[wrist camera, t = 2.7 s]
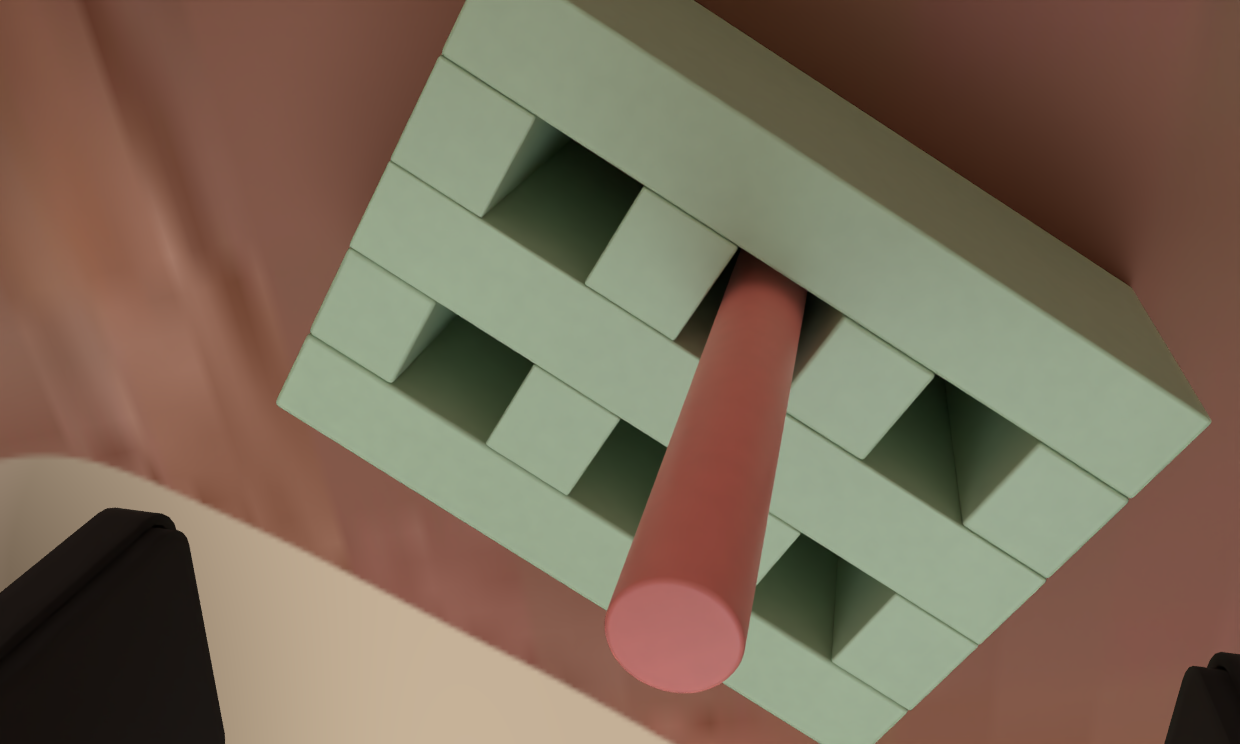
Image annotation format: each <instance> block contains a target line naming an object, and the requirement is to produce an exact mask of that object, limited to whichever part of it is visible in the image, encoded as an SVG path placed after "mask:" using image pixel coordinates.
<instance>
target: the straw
mask: <svg viewBox="0 0 1240 744" xmlns="http://www.w3.org/2000/svg"><path fill="white" fill-rule="evenodd" d="M806 297H807V290H806V289H804V288H803V287H801V286H800V285H798V284H796V283H795V282H793V281H792V280H790V279H789V278H787V277H786V276H784V275H783V274H781V273H779V272H778V271H776V270H775V269H773V268H772V267H770V266H769V265H767V264H766V263H764V262H762V261H761V260H759V259H758V258H756V257H755V256H753V255H752V254H750V253H748V252H747V251H745V250H744V249H742V248H741V250H740V253H739V256H738V258H737V261H736V264H735V266H734V269H733V272H732V274H731V277H730V280H729V283H728V285H727V288H726V291H725V293H724V296H723V299H722V301H721V304H720V307H719V310H718V312H717V315H716V318H715V320H714V323H713V326H712V328H711V331H710V334H709V337H708V339H707V342H706V345H705V347H704V350H703V353H702V355H701V358H700V361H699V363H698V366H697V369H696V372H695V374H694V377H693V380H692V382H691V385H690V388H689V390H688V393H687V396H686V399H685V401H684V404H683V407H682V409H681V412H680V415H679V417H678V420H677V423H676V426H675V428H674V431H673V434H672V436H671V439H670V442H669V444H668V447H667V450H666V453H665V455H664V458H663V461H662V463H661V466H660V469H659V471H658V474H657V477H656V480H655V482H654V485H653V488H652V490H651V493H650V496H649V498H648V501H647V504H646V507H645V509H644V512H643V515H642V517H641V520H640V523H639V525H638V528H637V531H636V534H635V536H634V539H633V542H632V544H631V547H630V550H629V552H628V555H627V558H626V561H625V563H624V566H623V569H622V571H621V574H620V577H619V579H618V582H617V585H616V587H615V590H614V593H613V596H612V598H611V601H610V604H609V606H608V609H607V612H606V616H605V633H606V638H607V642H608V645H609V647H610V650H611V652H612V653H613V655H614V657H615V658H616V660H617V661H618V662H619V664H620V665H621V666H622V667H623V668H624V669H625V670H626V671H627V672H628V673H630V674H631V675H632V676H633V677H635V678H636V679H638V680H639V681H641V682H643V683H645V684H647V685H649V686H651V687H654V688H657V689H660V690H663V691H668V692H674V693H695V692H700V691H705V690H708V689H711V688H713V687H715V686H717V685H719V684H721V683H722V682H724V681H725V680H726V679H727V678H729V677H730V676H731V675H732V674H733V673H734V672H735V670H736V669H737V668H738V666H739V664H740V663H741V661H742V658H743V655H744V651H745V646H746V640H747V634H748V629H749V623H750V617H751V611H752V606H753V600H754V594H755V589H756V583H757V577H758V571H759V566H760V560H761V554H762V548H763V543H764V537H765V531H766V526H767V520H768V514H769V508H770V503H771V497H772V491H773V486H774V480H775V474H776V468H777V463H778V457H779V451H780V446H781V440H782V434H783V428H784V423H785V417H786V411H787V406H788V400H789V394H790V388H791V383H792V377H793V371H794V365H795V360H796V354H797V348H798V343H799V337H800V331H801V325H802V320H803V314H804V308H805V303H806Z"/></svg>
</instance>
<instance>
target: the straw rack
mask: <svg viewBox="0 0 1240 744" xmlns="http://www.w3.org/2000/svg"><path fill="white" fill-rule="evenodd" d="M442 54H443V55H440V56H439V57H438V59H437V61H436V63H435V66H434V68H433V70H432V72H431V74H430V76H429V78H428V80H427V82H426V84H425V87H424V89H423V91H422V93H421V95H420V97H419V99H418V101H417V103H416V106H415V108H414V110H413V112H412V114H411V116H410V118H409V120H408V122H407V125H406V127H405V129H404V131H403V133H402V135H401V137H400V139H399V141H398V144H397V146H396V148H395V150H394V152H393V154H392V156H391V161H389V162H388V164H387V167H386V169H385V171H384V173H383V175H382V177H381V179H380V181H379V183H378V186H377V188H376V190H375V192H374V194H373V196H372V198H371V200H370V202H369V205H368V207H367V209H366V211H365V213H364V215H363V217H362V219H361V221H360V223H359V226H358V228H357V230H356V232H355V234H354V236H353V238H352V240H351V242H350V248H349V249H348V250H347V253H346V255H345V257H344V259H343V261H342V263H341V265H340V267H339V269H338V272H337V274H336V276H335V278H334V280H333V282H332V284H331V286H330V288H329V290H328V293H327V295H326V297H325V299H324V301H323V303H322V305H321V307H320V309H319V312H318V314H317V316H316V318H315V320H314V322H313V324H312V326H311V330H310V332H311V333H310V334H308V335H307V337H306V339H305V341H304V343H303V345H302V347H301V349H300V352H299V354H298V356H297V358H296V360H295V362H294V364H293V366H292V368H291V371H290V373H289V375H288V377H287V379H286V381H285V383H284V385H283V387H282V389H281V392H280V394H279V396H278V398H277V401H276V404H277V405H278V406H279V407H281V408H282V409H284V410H285V411H287V412H289V413H290V414H292V415H293V416H295V417H297V418H298V419H300V420H301V421H303V422H305V423H306V424H308V425H309V426H311V427H313V428H314V429H316V430H317V431H319V432H321V433H322V434H324V435H326V436H327V437H329V438H330V439H332V440H334V441H335V442H337V443H338V444H340V445H342V446H343V447H345V448H346V449H348V450H350V451H351V452H353V453H354V454H356V455H358V456H359V457H361V458H362V459H364V460H366V461H367V462H369V463H370V464H372V465H374V466H375V467H377V468H378V469H380V470H382V471H383V472H385V473H386V474H388V475H390V476H391V477H393V478H395V479H396V480H398V481H399V482H401V483H403V484H404V485H406V486H407V487H409V488H411V489H412V490H414V491H415V492H417V493H419V494H420V495H422V496H423V497H425V498H427V499H428V500H430V501H431V502H433V503H435V504H436V505H438V506H439V507H441V508H443V509H444V510H446V511H447V512H449V513H451V514H452V515H454V516H456V517H457V518H459V519H460V520H462V521H464V522H465V523H467V524H468V525H470V526H472V527H473V528H475V529H476V530H478V531H480V532H481V533H483V534H484V535H486V536H488V537H489V538H491V539H492V540H494V541H496V542H497V543H499V544H500V545H502V546H504V547H505V548H507V549H508V550H510V551H512V552H513V553H515V554H517V555H518V556H520V557H521V558H523V559H525V560H526V561H528V562H529V563H531V564H533V565H534V566H536V567H537V568H539V569H541V570H542V571H544V572H545V573H547V574H549V575H550V576H552V577H553V578H555V579H557V580H558V581H560V582H561V583H563V584H565V585H566V586H568V587H569V588H571V589H573V590H574V591H576V592H578V593H579V594H581V595H582V596H584V597H586V598H587V599H589V600H590V601H592V602H594V603H595V604H597V605H598V606H600V607H602V608H603V609H605V610H606V611H607V609H608V606H609V604H610V601H611V598H612V596H613V593H614V590H615V587H616V585H617V582H618V579H619V577H620V574H621V571H622V569H623V566H624V563H625V561H626V558H627V555H628V552H629V550H630V547H631V544H632V542H633V539H634V536H635V534H636V531H637V528H638V525H639V523H640V520H641V517H642V515H643V512H644V509H645V507H646V504H647V501H648V498H649V496H650V493H651V490H652V488H653V485H654V482H655V480H656V477H657V474H658V471H659V469H660V466H661V463H662V461H663V458H664V455H665V453H666V450H667V447H668V444H669V442H670V439H671V436H672V434H673V431H674V428H675V426H676V423H677V420H678V417H679V415H680V412H681V409H682V407H683V404H684V401H685V399H686V396H687V393H688V390H689V388H690V385H691V382H692V380H693V377H694V374H695V372H696V369H697V366H698V363H699V361H700V358H701V355H702V353H703V350H704V347H705V345H706V342H707V339H708V337H709V334H710V331H711V328H712V326H713V323H714V320H715V318H716V315H717V312H718V310H719V307H720V304H721V301H722V299H723V296H724V293H725V291H726V288H727V285H728V283H729V280H730V277H731V274H732V272H733V269H734V266H735V264H736V261H737V258H738V256H739V253H740V250H741V248H742V249H744V250H745V251H747V252H748V253H750V254H752V255H753V256H755V257H756V258H758V259H759V260H761V261H762V262H764V263H766V264H767V265H769V266H770V267H772V268H773V269H775V270H776V271H778V272H779V273H781V274H783V275H784V276H786V277H787V278H789V279H790V280H792V281H793V282H795V283H796V284H798V285H800V286H801V287H803V288H804V289H806V290H807V297H806V303H805V308H804V314H803V320H802V325H801V331H800V337H799V343H798V348H797V354H796V360H795V365H794V371H793V377H792V383H791V388H790V394H789V400H788V406H787V411H786V417H785V423H784V428H783V434H782V440H781V446H780V451H779V457H778V463H777V468H776V474H775V480H774V486H773V491H772V497H771V503H770V508H769V514H768V520H767V526H766V531H765V537H764V543H763V548H762V554H761V560H760V566H759V571H758V577H757V583H756V589H755V594H754V600H753V606H752V611H751V617H750V623H749V629H748V634H747V640H746V646H745V651H744V655H743V658H742V661H741V663H740V664H739V666H738V668H737V669H736V670H735V672H734V673H733V674H732V675H731V676H730V677H729V678H727V679H726V680H725V681H724V682H722V683H724V684H725V685H727V686H728V687H730V688H732V689H733V690H735V691H736V692H738V693H740V694H741V695H743V696H744V697H746V698H748V699H749V700H751V701H752V702H754V703H756V704H757V705H759V706H760V707H762V708H764V709H765V710H767V711H769V712H770V713H772V714H773V715H775V716H777V717H778V718H780V719H781V720H783V721H785V722H786V723H788V724H789V725H791V726H793V727H794V728H796V729H797V730H799V731H801V732H802V733H804V734H805V735H807V736H809V737H810V738H812V739H813V740H815V741H817V742H818V743H820V744H875V743H876V742H877V741H878V740H879V739H880V738H881V737H882V736H883V735H884V734H885V733H886V732H887V731H888V730H889V729H890V728H891V727H893V726H894V725H895V724H896V723H897V722H898V721H899V720H900V719H901V718H902V717H903V716H904V715H905V714H906V713H907V711H908V710H912V709H913V708H914V707H915V706H916V705H917V704H918V703H919V702H920V701H921V700H922V699H923V698H924V697H926V696H927V695H928V694H929V693H930V692H931V691H932V690H933V689H934V688H935V687H936V686H937V685H938V684H939V683H940V682H941V681H942V680H943V679H944V678H945V677H946V676H948V675H949V674H950V673H951V672H952V671H953V670H954V669H955V668H956V667H957V666H958V665H959V664H960V663H961V662H962V661H963V660H964V659H965V658H966V657H967V656H969V655H970V654H971V653H972V652H973V651H974V650H975V649H976V648H977V647H978V644H981V643H982V642H983V641H984V640H985V639H986V638H987V637H989V636H990V635H991V634H992V633H993V632H994V631H995V630H996V629H997V628H998V627H999V626H1000V625H1001V624H1002V623H1003V622H1004V621H1005V620H1006V619H1007V618H1008V617H1009V616H1011V615H1012V614H1013V613H1014V612H1015V611H1016V610H1017V609H1018V608H1019V607H1020V606H1021V605H1022V604H1023V603H1024V602H1025V601H1026V600H1027V599H1028V598H1029V597H1030V596H1032V595H1033V594H1034V593H1035V592H1036V591H1037V590H1038V589H1039V588H1040V587H1041V586H1042V585H1043V584H1044V583H1045V582H1046V578H1049V577H1050V576H1052V575H1053V574H1054V573H1055V572H1056V571H1057V570H1058V569H1059V568H1060V567H1061V566H1062V565H1063V564H1064V563H1065V562H1066V561H1067V560H1068V559H1069V558H1070V557H1071V556H1072V555H1074V554H1075V553H1076V552H1077V551H1078V550H1079V549H1080V548H1081V547H1082V546H1083V545H1084V544H1085V543H1086V542H1087V541H1088V540H1089V539H1090V538H1091V537H1092V536H1093V535H1095V534H1096V533H1097V532H1098V531H1099V530H1100V529H1101V528H1102V527H1103V526H1104V525H1105V524H1106V523H1107V522H1108V521H1109V520H1110V519H1111V518H1112V517H1113V516H1114V515H1115V514H1117V513H1118V512H1119V511H1120V510H1121V509H1122V508H1123V507H1124V506H1125V505H1126V504H1127V503H1128V500H1129V499H1128V497H1129V498H1133V497H1134V496H1135V495H1136V494H1137V493H1138V492H1139V491H1141V490H1142V489H1143V488H1144V487H1145V486H1146V485H1147V484H1148V483H1149V482H1150V481H1151V480H1152V479H1153V478H1154V477H1155V476H1156V475H1157V474H1158V473H1159V472H1160V471H1161V470H1163V469H1164V468H1165V467H1166V466H1167V465H1168V464H1169V463H1170V462H1171V461H1172V460H1173V459H1174V458H1175V457H1176V456H1177V455H1178V454H1179V453H1180V452H1181V451H1182V450H1184V449H1185V448H1186V447H1187V446H1188V445H1189V444H1190V443H1191V442H1192V441H1193V440H1194V439H1195V438H1196V437H1197V436H1198V435H1199V434H1200V433H1201V432H1202V431H1203V430H1204V429H1206V428H1207V427H1208V426H1209V425H1210V423H1211V419H1210V417H1209V416H1208V414H1207V412H1206V411H1205V409H1204V407H1203V406H1202V404H1201V402H1200V401H1199V399H1198V397H1197V396H1196V394H1195V392H1194V391H1193V389H1192V387H1191V386H1190V384H1189V382H1188V381H1187V379H1186V377H1185V376H1184V374H1183V372H1182V371H1181V369H1180V367H1179V366H1178V364H1177V362H1176V361H1175V359H1174V357H1173V356H1172V354H1171V352H1170V351H1169V349H1168V347H1167V346H1166V344H1165V342H1164V341H1163V339H1162V337H1161V336H1160V334H1159V332H1158V331H1157V329H1156V328H1155V326H1154V324H1153V323H1152V321H1151V319H1150V318H1149V316H1148V314H1147V313H1146V311H1145V309H1144V308H1143V306H1142V304H1141V303H1140V301H1139V299H1138V298H1137V296H1136V294H1135V293H1134V291H1133V289H1132V288H1131V287H1130V286H1128V285H1127V284H1125V283H1124V282H1122V281H1121V280H1119V279H1118V278H1116V277H1115V276H1113V275H1111V274H1110V273H1108V272H1107V271H1105V270H1104V269H1102V268H1101V267H1099V266H1098V265H1096V264H1095V263H1093V262H1092V261H1090V260H1089V259H1087V258H1086V257H1084V256H1083V255H1081V254H1079V253H1078V252H1076V251H1075V250H1073V249H1072V248H1070V247H1069V246H1067V245H1066V244H1064V243H1063V242H1061V241H1060V240H1058V239H1057V238H1055V237H1054V236H1052V235H1051V234H1049V233H1047V232H1046V231H1044V230H1043V229H1041V228H1040V227H1038V226H1037V225H1035V224H1034V223H1032V222H1031V221H1029V220H1028V219H1026V218H1025V217H1023V216H1022V215H1020V214H1019V213H1017V212H1015V211H1014V210H1012V209H1011V208H1009V207H1008V206H1006V205H1005V204H1003V203H1002V202H1000V201H999V200H997V199H996V198H994V197H993V196H991V195H990V194H988V193H987V192H985V191H983V190H982V189H980V188H979V187H977V186H976V185H974V184H973V183H971V182H970V181H968V180H967V179H965V178H964V177H962V176H961V175H959V174H958V173H956V172H955V171H953V170H951V169H950V168H948V167H947V166H945V165H944V164H942V163H941V162H939V161H938V160H936V159H935V158H933V157H932V156H930V155H929V154H927V153H926V152H924V151H923V150H921V149H919V148H918V147H916V146H915V145H913V144H912V143H910V142H909V141H907V140H906V139H904V138H903V137H901V136H900V135H898V134H897V133H895V132H894V131H892V130H891V129H889V128H887V127H886V126H884V125H883V124H881V123H880V122H878V121H877V120H875V119H874V118H872V117H871V116H869V115H868V114H866V113H865V112H863V111H862V110H860V109H859V108H857V107H855V106H854V105H852V104H851V103H849V102H848V101H846V100H845V99H843V98H842V97H840V96H839V95H837V94H836V93H834V92H833V91H831V90H830V89H828V88H827V87H825V86H823V85H822V84H820V83H819V82H817V81H816V80H814V79H813V78H811V77H810V76H808V75H807V74H805V73H804V72H802V71H801V70H799V69H798V68H796V67H795V66H793V65H791V64H790V63H788V62H787V61H785V60H784V59H782V58H781V57H779V56H778V55H776V54H775V53H773V52H772V51H770V50H769V49H767V48H766V47H764V46H763V45H761V44H759V43H758V42H756V41H755V40H753V39H752V38H750V37H749V36H747V35H746V34H744V33H743V32H741V31H740V30H738V29H737V28H735V27H734V26H732V25H731V24H729V23H727V22H726V21H724V20H723V19H721V18H720V17H718V16H717V15H715V14H714V13H712V12H711V11H709V10H708V9H706V8H705V7H703V6H702V5H700V4H699V3H697V2H695V1H694V0H466V1H465V3H464V5H463V8H462V10H461V12H460V14H459V16H458V18H457V20H456V22H455V24H454V26H453V29H452V31H451V33H450V35H449V37H448V39H447V41H446V43H445V45H444V48H443V51H442ZM572 139H573V140H575V141H576V142H575V141H573V140H572ZM577 142H578V143H580V144H581V145H583V146H584V147H586V148H587V149H589V150H590V151H592V152H594V153H595V154H597V155H598V156H600V157H601V158H603V159H604V160H606V161H607V162H606V161H604V160H603V159H601V158H600V157H598V156H597V155H595V154H594V153H592V152H590V151H589V150H587V149H586V148H584V147H583V146H581V145H580V144H578V143H577ZM608 162H609V163H611V164H612V165H614V166H615V167H617V168H618V169H620V170H621V171H623V172H625V173H626V174H628V175H629V176H631V177H632V178H634V179H635V180H637V181H638V182H640V183H642V184H643V185H644V186H643V185H642V184H640V183H638V182H637V181H635V180H634V179H632V178H631V177H629V176H628V175H626V174H625V173H623V172H621V171H620V170H618V169H617V168H615V167H614V166H612V165H611V164H609V163H608ZM738 246H739V247H741V248H739V247H738ZM935 373H936V374H937V375H936V374H935ZM938 375H939V376H941V377H942V378H944V379H942V378H941V377H939V376H938Z"/></svg>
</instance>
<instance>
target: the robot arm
mask: <svg viewBox="0 0 1240 744" xmlns="http://www.w3.org/2000/svg"><path fill="white" fill-rule="evenodd" d="M0 744H225V733H224V728H223V722H222V717H221V712H220V706H219V701H218V696H217V690H216V685H215V680H214V675H213V670H212V664H211V659H210V653H209V648H208V643H207V637H206V632H205V627H204V621H203V616H202V611H201V605H200V600H199V595H198V589H197V584H196V579H195V573H194V568H193V563H192V558H191V552H190V547H189V543H188V540H187V537H186V536H185V535H184V534H183V533H182V532H180V531H178V530H176V528H175V525H174V523H173V521H172V520H171V519H170V518H169V517H168V516H166V515H163V514H160V513H151V512H144V511H136V510H129V509H121V508H107V509H105V510H103V511H102V512H100V513H98V514H97V515H96V516H94V517H93V518H92V519H91V520H89V521H88V522H87V523H86V524H84V525H83V526H82V527H81V528H80V529H78V530H77V531H76V532H75V533H73V534H72V535H71V536H70V537H68V538H67V539H66V540H65V541H64V542H62V543H61V544H60V545H58V546H57V547H56V548H55V549H54V550H52V551H51V552H50V553H49V554H47V555H46V556H45V557H44V558H43V559H41V560H40V561H39V562H38V563H36V564H35V565H34V566H33V567H31V568H30V569H29V570H28V571H26V572H25V573H24V574H23V575H22V576H20V577H19V578H18V579H17V580H15V581H14V582H13V583H12V584H10V585H9V586H8V587H7V588H5V589H4V590H3V591H2V592H1V593H0ZM1165 744H1240V654H1232V653H1224V652H1220V653H1216V654H1215V655H1214V656H1213V657H1212V658H1211V660H1210V661H1209V664H1208V666H1207V668H1205V667H1197V666H1192V667H1189V668H1188V670H1187V671H1186V672H1185V675H1184V678H1183V680H1182V684H1181V687H1180V691H1179V694H1178V698H1177V701H1176V705H1175V708H1174V712H1173V715H1172V719H1171V722H1170V726H1169V730H1168V733H1167V737H1166V740H1165Z"/></svg>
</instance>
